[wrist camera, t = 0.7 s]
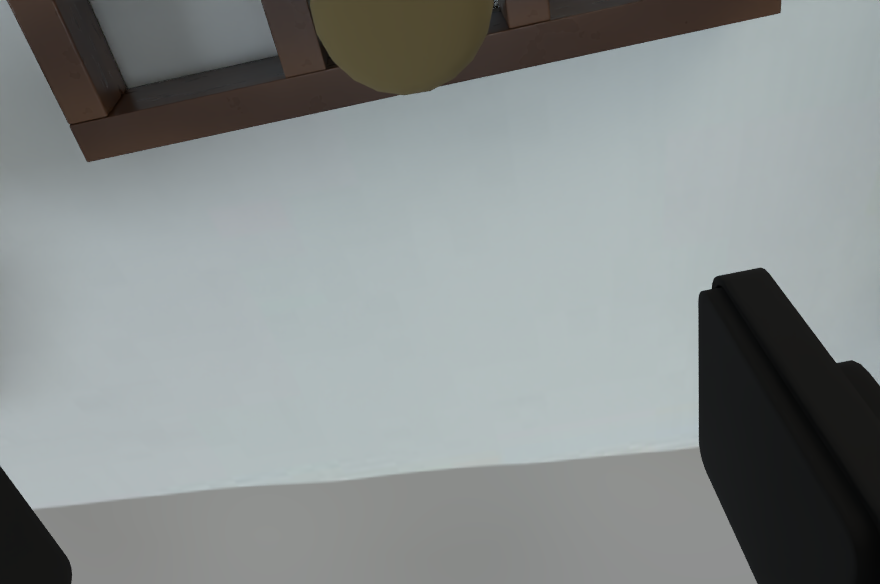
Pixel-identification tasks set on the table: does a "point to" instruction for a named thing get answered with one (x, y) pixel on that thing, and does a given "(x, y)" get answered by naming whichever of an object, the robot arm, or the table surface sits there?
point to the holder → (316, 64)
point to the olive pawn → (402, 39)
